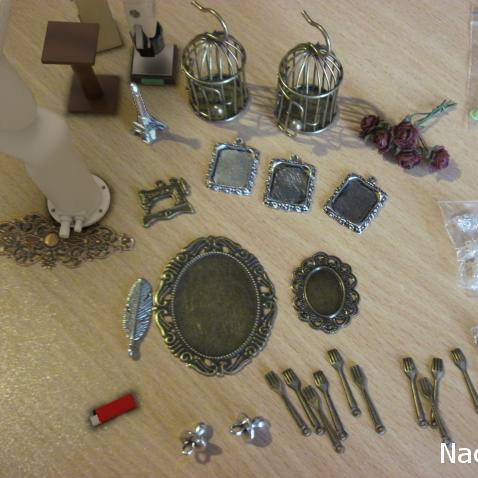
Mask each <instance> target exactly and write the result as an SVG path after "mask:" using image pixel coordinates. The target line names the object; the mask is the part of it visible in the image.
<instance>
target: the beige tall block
mask: <svg viewBox="0 0 478 478" xmlns="http://www.w3.org/2000/svg"><path fill="white" fill-rule="evenodd" d="M69 1H70V2H74V5H75V7H76V9H77V11H76V15H77V17H78V20H79V22H82V23H99V25H100V30H99V37H98V44H97V52H96V53H99V52H102V51H106V50H110V49H114V48H117V47H120V46H122V45H123V44H122V40H121V37H120V34H119V31H118V28H117V26H116V22H115V20H114V19H115V18H114V16H113V14H112V11H111V8H110V5H109V2H108V0H69Z"/></svg>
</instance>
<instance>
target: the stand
mask: <svg viewBox="0 0 478 478" xmlns="http://www.w3.org/2000/svg"><path fill="white" fill-rule="evenodd" d="M99 30H100V25H99V23H82V22H80V21H79V22H78V21H58V20H56V21H55V20H48V21H47V23H46V30H45V36H44V41H43V46H42V50H41V51H42V52H41V58H40V62H41V64H42V65H57V66H58V65H59V66H61V65H62V66H63V65H64V66H70V68H71V70H72V72H73V74H72V81H71V83H72V84H71V88H70V94H69V96H70V97H69V102H68V107H67V111H68V114H91V115H93V114H96V115H116V106H117V98H118V89H119V82H120V77H119V75H107V74H96V73H95V70H94V68H93V67H95V66H96V58H97V53H98V52H97V44H98V37H99Z"/></svg>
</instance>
